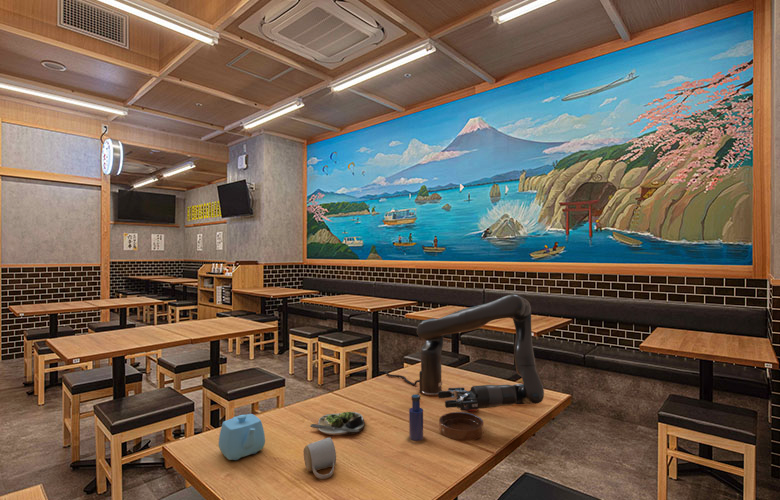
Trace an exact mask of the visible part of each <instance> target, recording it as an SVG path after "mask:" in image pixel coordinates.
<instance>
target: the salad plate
mask: <svg viewBox="0 0 780 500" xmlns="http://www.w3.org/2000/svg"><path fill="white" fill-rule="evenodd" d="M309 426H310V428H313V429H316V430H318V431H320V432H321V433H322V434H325V435H328V436H329V435H330V436H349V435H356V434H358V433H360V432H362V431H363V429H364V427H365V421H364V417H363V415H362V413H360V412H355V411H343V412H339V413H327V414H324V415H322V416H321V417H319V418H318V423H317V424H316V423H312V424H311V423H310V425H309Z"/></svg>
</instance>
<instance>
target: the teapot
mask: <svg viewBox="0 0 780 500" xmlns="http://www.w3.org/2000/svg"><path fill="white" fill-rule="evenodd" d="M265 435H266V434H265V430H264V426H263V422H262V420H261V419H260V418H259V417H258V416H257V415H255V414H253V413H247V414H240V415H237V416H233V417H232V418H229V419H227V420H224V421H222V424H221V427H220V431H219V437H218V447H219V450H220V452H221V454H222V455H223V456H224V457H225V458H226V459H227V460H229V461H238V460H240V459H241V458H244V457H248V456H250V455H255V454H257V453H258V452H260V451H261V450H263V449H264V447H265V444H266V436H265Z"/></svg>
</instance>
